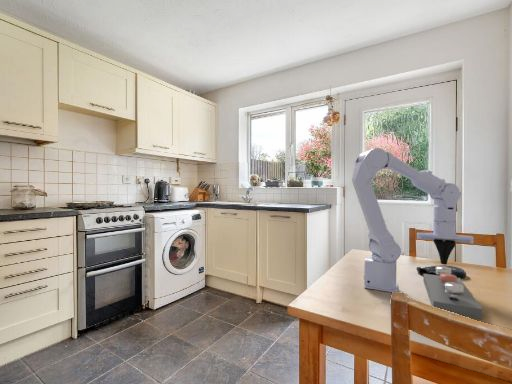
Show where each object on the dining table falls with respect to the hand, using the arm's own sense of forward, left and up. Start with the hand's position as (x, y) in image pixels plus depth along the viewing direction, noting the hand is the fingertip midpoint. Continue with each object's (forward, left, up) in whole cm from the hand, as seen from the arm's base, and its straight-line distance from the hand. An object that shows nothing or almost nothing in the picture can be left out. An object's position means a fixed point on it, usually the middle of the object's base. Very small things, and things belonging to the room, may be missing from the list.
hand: (443, 263), depth 85 cm
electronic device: (+2, +14, -8) cm, 16 cm away
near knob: (0, -16, -5) cm, 17 cm away
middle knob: (0, -8, -5) cm, 10 cm away
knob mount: (0, -8, -8) cm, 11 cm away
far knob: (0, 0, -5) cm, 5 cm away
